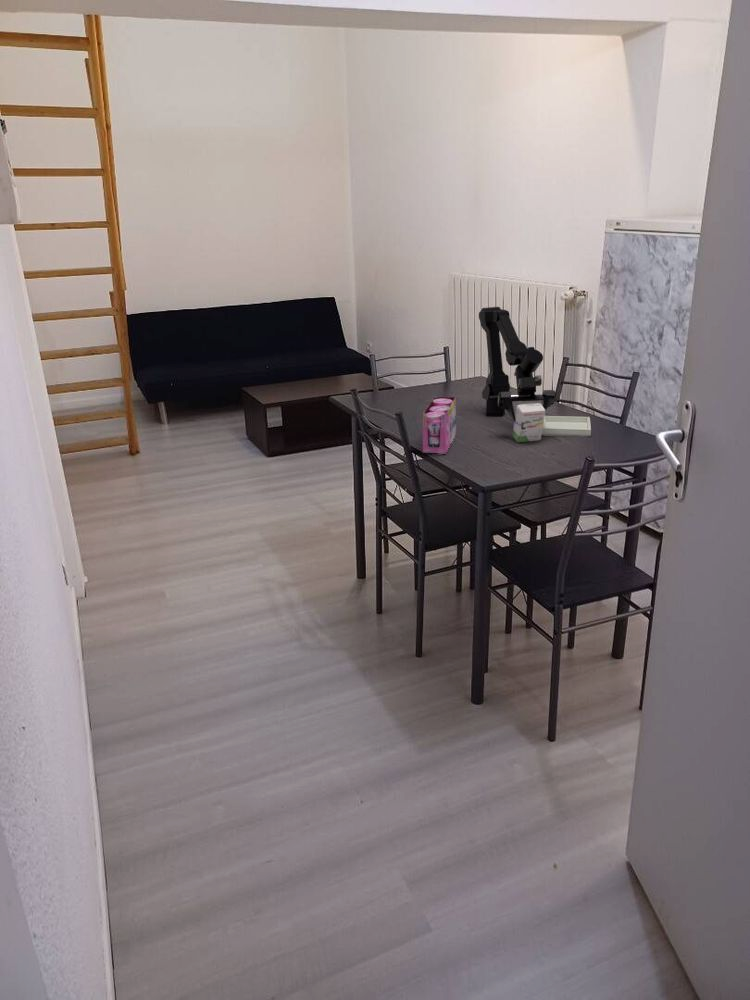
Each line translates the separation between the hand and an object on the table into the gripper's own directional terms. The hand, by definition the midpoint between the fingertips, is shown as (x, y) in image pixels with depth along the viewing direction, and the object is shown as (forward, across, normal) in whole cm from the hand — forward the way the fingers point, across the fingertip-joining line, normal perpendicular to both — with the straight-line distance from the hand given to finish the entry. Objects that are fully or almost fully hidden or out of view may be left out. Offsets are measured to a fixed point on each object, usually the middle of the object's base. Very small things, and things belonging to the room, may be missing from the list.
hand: (528, 420), depth 250 cm
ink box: (+4, 0, +6) cm, 7 cm away
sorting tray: (-4, +15, +14) cm, 20 cm away
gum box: (+6, -30, +5) cm, 30 cm away
